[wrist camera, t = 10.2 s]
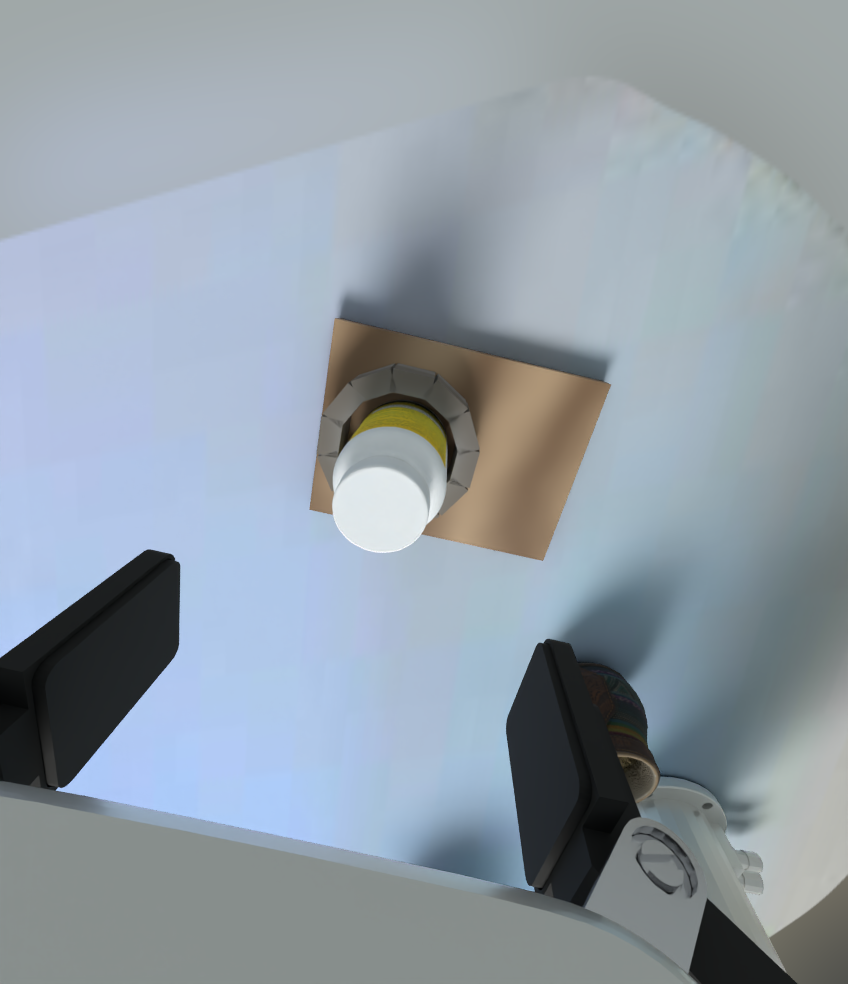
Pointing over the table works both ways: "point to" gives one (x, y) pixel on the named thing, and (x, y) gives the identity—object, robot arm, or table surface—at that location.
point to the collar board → (507, 430)
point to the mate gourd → (624, 726)
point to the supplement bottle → (391, 477)
